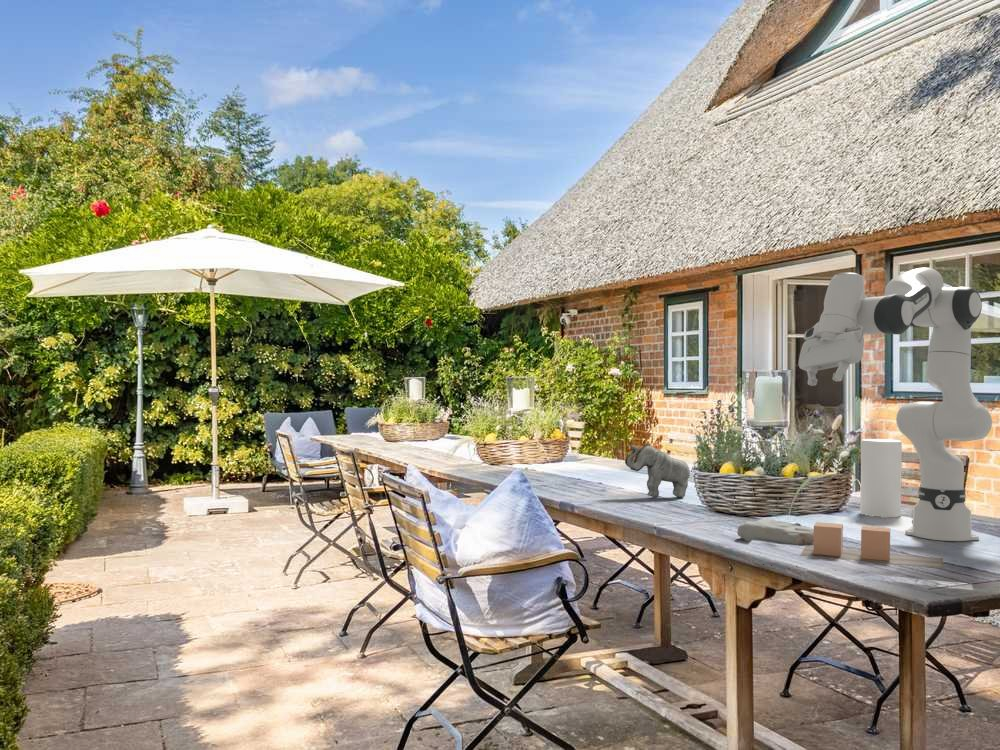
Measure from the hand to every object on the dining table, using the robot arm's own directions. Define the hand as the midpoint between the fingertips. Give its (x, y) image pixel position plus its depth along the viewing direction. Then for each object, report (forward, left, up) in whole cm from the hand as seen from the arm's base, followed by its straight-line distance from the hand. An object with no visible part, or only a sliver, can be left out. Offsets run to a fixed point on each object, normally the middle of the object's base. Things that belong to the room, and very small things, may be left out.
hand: (824, 382), depth 213 cm
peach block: (-4, +1, -43) cm, 43 cm away
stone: (-20, -14, -45) cm, 51 cm away
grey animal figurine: (-89, -66, -44) cm, 119 cm away
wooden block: (-4, +12, -43) cm, 45 cm away
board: (-4, +11, -44) cm, 46 cm away
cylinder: (-88, +11, -44) cm, 99 cm away
